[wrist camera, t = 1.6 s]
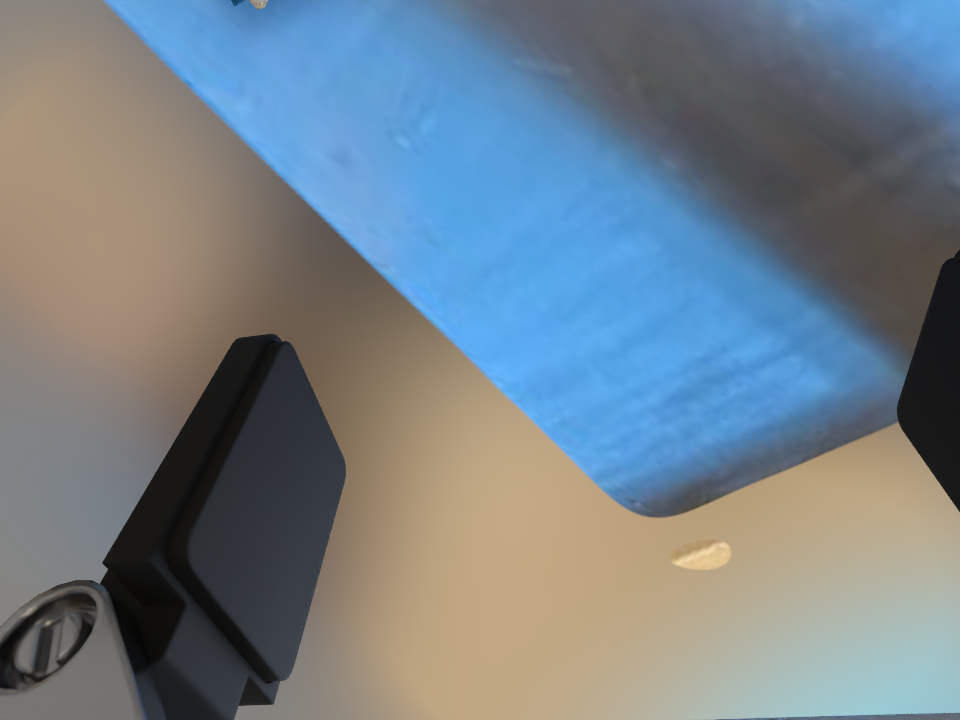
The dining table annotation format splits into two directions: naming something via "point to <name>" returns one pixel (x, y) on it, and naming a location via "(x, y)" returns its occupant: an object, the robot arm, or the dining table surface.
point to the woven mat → (257, 0)
